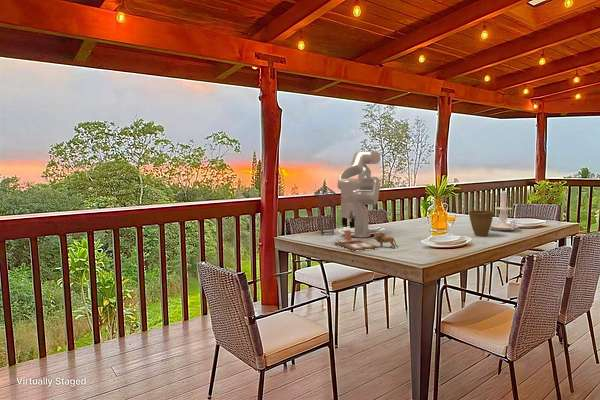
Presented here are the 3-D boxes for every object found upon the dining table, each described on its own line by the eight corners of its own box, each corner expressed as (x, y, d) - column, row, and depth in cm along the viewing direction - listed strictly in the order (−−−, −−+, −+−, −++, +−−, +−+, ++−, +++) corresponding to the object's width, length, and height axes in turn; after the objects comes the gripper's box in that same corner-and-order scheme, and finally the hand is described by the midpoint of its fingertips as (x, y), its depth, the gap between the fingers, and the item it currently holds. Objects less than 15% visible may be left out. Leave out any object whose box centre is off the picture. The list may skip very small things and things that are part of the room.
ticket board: (356, 241, 263) (356, 238, 263) (377, 249, 241) (377, 245, 241) (334, 244, 257) (334, 241, 256) (354, 252, 235) (354, 248, 234)
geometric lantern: (338, 235, 287) (336, 186, 283) (316, 236, 288) (313, 187, 284) (337, 231, 303) (334, 184, 299) (316, 232, 303) (313, 185, 299)
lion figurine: (373, 247, 245) (373, 233, 244) (374, 245, 250) (374, 231, 249) (398, 248, 240) (397, 233, 239) (399, 247, 244) (399, 232, 244)
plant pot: (488, 233, 278) (488, 210, 276) (496, 237, 263) (496, 213, 262) (465, 233, 280) (465, 210, 278) (472, 237, 265) (473, 213, 263)
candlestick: (500, 234, 274) (501, 192, 271) (481, 228, 298) (482, 190, 295) (529, 232, 275) (530, 191, 272) (508, 226, 300) (509, 189, 297)
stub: (354, 239, 262) (354, 229, 261) (358, 240, 257) (358, 230, 256) (337, 241, 257) (337, 231, 256) (341, 242, 252) (341, 232, 252)
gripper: (335, 198, 261) (336, 224, 264) (348, 202, 245) (349, 229, 248) (345, 197, 264) (346, 223, 266) (359, 200, 248) (360, 228, 251)
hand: (348, 226), depth 257 cm, fingers open, 9 cm apart
